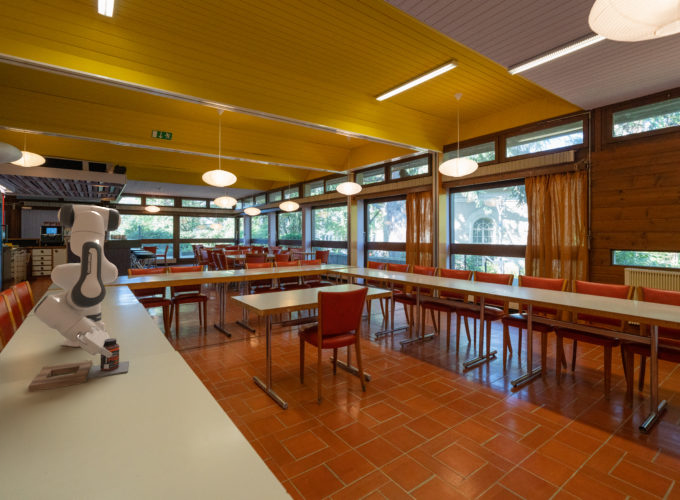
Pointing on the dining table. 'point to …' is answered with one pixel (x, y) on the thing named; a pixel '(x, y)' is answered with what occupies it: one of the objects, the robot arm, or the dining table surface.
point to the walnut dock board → (47, 381)
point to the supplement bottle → (113, 361)
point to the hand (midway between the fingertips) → (112, 352)
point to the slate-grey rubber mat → (98, 372)
